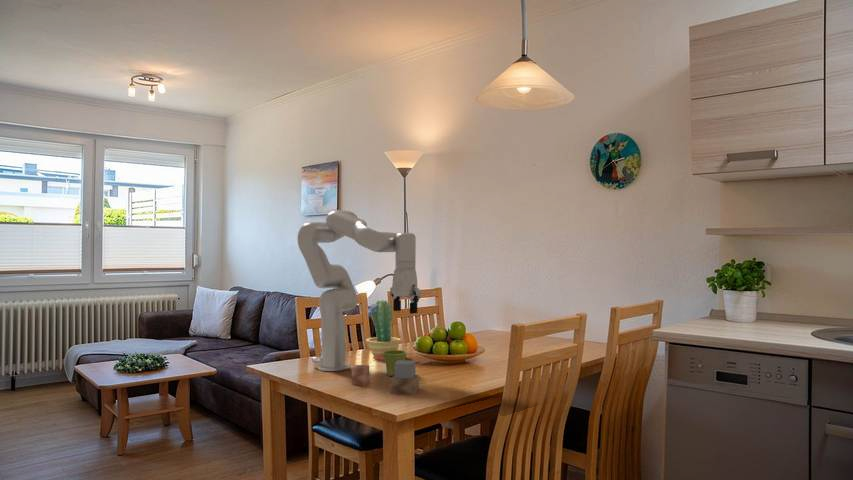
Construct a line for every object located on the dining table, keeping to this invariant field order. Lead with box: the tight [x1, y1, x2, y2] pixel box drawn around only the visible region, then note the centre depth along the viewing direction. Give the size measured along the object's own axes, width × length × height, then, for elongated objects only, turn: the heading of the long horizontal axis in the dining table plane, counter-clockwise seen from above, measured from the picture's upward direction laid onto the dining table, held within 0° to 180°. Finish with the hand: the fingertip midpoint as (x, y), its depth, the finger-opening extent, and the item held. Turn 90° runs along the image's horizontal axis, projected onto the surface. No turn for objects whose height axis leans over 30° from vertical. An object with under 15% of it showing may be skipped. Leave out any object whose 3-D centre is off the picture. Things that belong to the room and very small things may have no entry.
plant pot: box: [383, 349, 408, 377], centre depth 222 cm, size 9×9×9 cm
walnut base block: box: [389, 374, 420, 395], centre depth 198 cm, size 8×8×5 cm
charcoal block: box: [395, 359, 417, 379], centre depth 198 cm, size 6×6×5 cm
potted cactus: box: [365, 300, 402, 361], centre depth 256 cm, size 15×15×25 cm
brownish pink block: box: [351, 364, 370, 386], centre depth 209 cm, size 5×5×6 cm
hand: (405, 312), depth 218 cm, fingers open, 9 cm apart
